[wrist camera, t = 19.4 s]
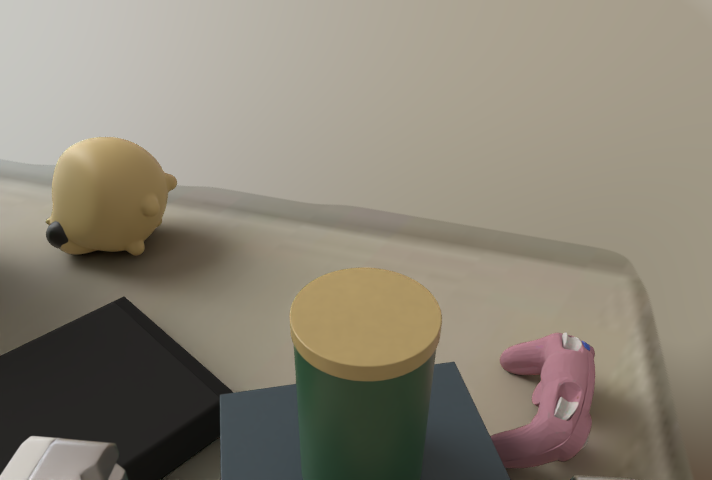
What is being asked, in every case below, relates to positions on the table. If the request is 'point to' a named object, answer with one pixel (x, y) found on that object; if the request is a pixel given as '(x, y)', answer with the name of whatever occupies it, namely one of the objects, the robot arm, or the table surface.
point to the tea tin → (364, 374)
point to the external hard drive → (111, 391)
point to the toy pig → (106, 197)
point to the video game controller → (550, 401)
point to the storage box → (282, 442)
